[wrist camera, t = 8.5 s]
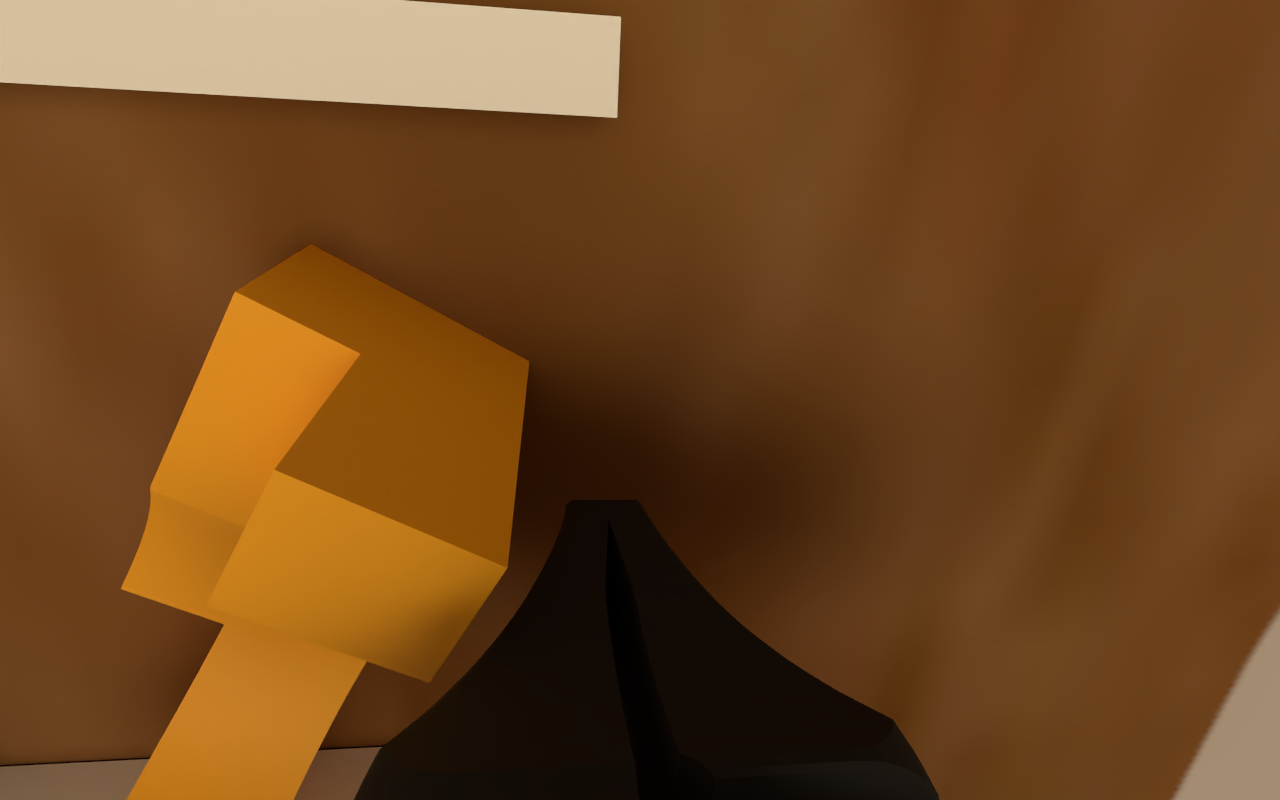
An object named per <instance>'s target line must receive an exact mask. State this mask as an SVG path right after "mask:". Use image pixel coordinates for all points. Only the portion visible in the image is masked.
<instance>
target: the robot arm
mask: <svg viewBox="0 0 1280 800" xmlns="http://www.w3.org/2000/svg"><path fill="white" fill-rule="evenodd" d="M354 800H939V797H938V793H937V792H936V790H935V788H934V786H933V784H932V782H931V780H930V779H929V777H928V775H927V773H926V771H925V769H924V767H923V765H922V764H921V762H920V760H919V759H918V757H917V755H916V754H915V752H914V750H913V749H912V747H911V746H910V744H909V743H908V741H907V740H906V739H905V737H904V736H903V734H902V733H901V731H900V730H899V728H898V727H897V725H896V723H895V722H894V720H893V719H891V718H889V717H887V716H885V715H883V714H881V713H879V712H877V711H875V710H873V709H871V708H869V707H867V706H866V705H864V704H862V703H860V702H858V701H856V700H854V699H852V698H850V697H848V696H846V695H844V694H842V693H840V692H839V691H837V690H835V689H833V688H832V687H830V686H828V685H827V684H825V683H823V682H822V681H820V680H819V679H817V678H815V677H814V676H812V675H810V674H809V673H807V672H805V671H804V670H802V669H801V668H799V667H798V666H796V665H795V664H793V663H792V662H790V661H789V660H787V659H786V658H784V657H783V656H782V655H780V654H779V653H778V652H776V651H775V650H774V649H772V648H771V647H770V646H768V645H767V644H766V643H764V642H763V641H762V640H760V639H759V638H758V637H756V636H755V635H754V634H753V633H751V632H750V631H749V630H748V629H746V628H745V627H744V626H743V625H742V624H740V623H739V622H738V621H737V620H736V619H735V618H734V617H733V616H732V615H730V614H729V613H728V612H727V611H726V610H725V609H724V608H723V607H722V606H721V605H720V604H719V603H718V602H717V601H716V600H715V599H714V598H713V597H712V596H711V595H710V594H709V593H708V592H707V591H706V589H705V588H704V587H703V586H702V585H701V584H700V583H699V582H698V581H697V580H696V578H695V577H694V576H693V575H692V574H691V573H690V571H689V570H688V569H687V568H686V567H685V565H684V564H683V563H682V562H681V560H680V559H679V558H678V557H677V555H676V554H675V553H674V552H673V550H672V549H671V548H670V546H669V545H668V544H667V542H666V541H665V540H664V538H663V537H662V535H661V534H660V533H659V531H658V530H657V528H656V527H655V525H654V524H653V522H652V521H651V519H650V518H649V516H648V514H647V513H646V511H645V510H644V508H643V506H642V505H641V504H640V503H639V502H638V501H637V500H572V501H571V502H570V503H569V504H567V505H566V512H565V517H564V521H563V524H562V527H561V530H560V532H559V535H558V537H557V540H556V542H555V545H554V547H553V549H552V551H551V553H550V555H549V557H548V559H547V562H546V564H545V566H544V568H543V569H542V571H541V573H540V575H539V576H538V578H537V580H536V582H535V583H534V585H533V587H532V588H531V590H530V592H529V594H528V595H527V597H526V598H525V600H524V602H523V603H522V605H521V606H520V608H519V609H518V611H517V612H516V613H515V615H514V616H513V618H512V619H511V620H510V622H509V623H508V624H507V626H506V627H505V629H504V630H503V631H502V633H501V634H500V635H499V636H498V637H497V639H496V640H495V641H494V642H493V643H492V645H491V646H490V647H489V648H488V650H487V651H486V652H485V653H484V654H483V656H482V657H481V658H480V659H479V660H478V661H477V662H476V663H475V665H474V666H473V667H472V668H471V669H470V670H469V671H468V672H467V673H466V674H465V675H464V676H463V677H462V678H461V679H460V680H459V681H458V682H457V683H456V684H455V685H454V686H453V687H452V688H451V689H450V690H449V691H448V692H447V693H446V694H445V695H444V696H443V697H442V698H441V699H439V700H438V701H437V702H436V703H435V704H434V705H433V706H432V707H431V708H430V709H429V710H428V711H426V712H425V713H424V714H423V715H422V716H420V717H419V718H418V719H417V720H416V721H414V722H413V723H412V724H411V725H409V726H408V727H407V728H406V729H404V730H403V731H402V732H401V733H400V734H398V735H397V736H396V737H395V738H393V739H392V740H391V741H390V742H388V743H387V744H386V745H384V746H383V747H382V748H380V749H379V751H378V753H377V755H376V757H375V758H374V760H373V762H372V764H371V766H370V768H369V770H368V772H367V773H366V775H365V777H364V779H363V781H362V783H361V785H360V788H359V790H358V792H357V794H356V796H355V798H354Z"/></svg>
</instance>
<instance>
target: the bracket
mask: <svg viewBox="0 0 1280 800" xmlns="http://www.w3.org/2000/svg"><path fill="white" fill-rule="evenodd" d="M620 30H621V17H617V16H604V15H590V14H577V13H564V12H551V11H537V10H524V9H511V8H498V7H485V6H471V5H458V4H445V3H432V2H418V1H405V0H0V82H4V83H21V84H38V85H56V86H73V87H90V88H108V89H125V90H143V91H160V92H177V93H195V94H212V95H229V96H247V97H264V98H282V99H299V100H316V101H334V102H351V103H368V104H386V105H403V106H421V107H438V108H455V109H473V110H490V111H507V112H525V113H542V114H560V115H577V116H594V117H612V118H617V107H618V82H619V56H620ZM380 748H382V747H371V748H352V749H332V750H318V751H317V753H316V755H315V757H314V759H313V761H312V763H311V765H310V767H309V769H308V771H307V773H306V775H305V777H304V779H303V781H302V783H301V785H300V787H299V789H298V791H297V794H296V796H295V798H294V800H354V798H355V796H356V794H357V792H358V790H359V788H360V785H361V783H362V781H363V779H364V777H365V775H366V773H367V772H368V770H369V768H370V766H371V764H372V762H373V760H374V758H375V757H376V755H377V753H378V751H379V749H380ZM148 761H149V759H140V760H120V761H101V762H82V763H63V764H43V765H24V766H5V767H0V800H126V799H127V798H128V796H129V794H130V792H131V791H132V789H133V787H134V785H135V784H136V782H137V780H138V778H139V777H140V775H141V773H142V771H143V770H144V768H145V766H146V764H147V763H148Z"/></svg>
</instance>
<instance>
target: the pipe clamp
mask: <svg viewBox="0 0 1280 800" xmlns="http://www.w3.org/2000/svg"><path fill="white" fill-rule="evenodd" d="M528 370H529V361H528V360H526V359H524V358H522V357H521V356H519V355H517V354H515V353H513V352H511V351H509V350H508V349H506V348H504V347H502V346H500V345H498V344H496V343H495V342H493V341H491V340H489V339H487V338H485V337H483V336H482V335H480V334H478V333H476V332H474V331H472V330H470V329H469V328H467V327H465V326H463V325H461V324H459V323H457V322H456V321H454V320H452V319H450V318H448V317H446V316H444V315H443V314H441V313H439V312H437V311H435V310H433V309H431V308H430V307H428V306H426V305H424V304H422V303H420V302H418V301H416V300H415V299H413V298H411V297H409V296H407V295H405V294H403V293H402V292H400V291H398V290H396V289H394V288H392V287H390V286H389V285H387V284H385V283H383V282H381V281H379V280H377V279H376V278H374V277H372V276H370V275H368V274H366V273H364V272H363V271H361V270H359V269H357V268H355V267H353V266H351V265H350V264H348V263H346V262H344V261H342V260H340V259H338V258H337V257H335V256H333V255H331V254H329V253H327V252H325V251H324V250H322V249H320V248H318V247H316V246H314V245H312V244H310V245H309V246H307V247H305V248H304V249H302V250H301V251H299V252H297V253H296V254H294V255H293V256H291V257H289V258H288V259H286V260H285V261H283V262H281V263H280V264H278V265H277V266H275V267H273V268H272V269H270V270H269V271H267V272H265V273H264V274H262V275H261V276H259V277H257V278H256V279H254V280H253V281H251V282H250V283H248V284H246V285H245V286H243V287H242V288H240V289H238V290H237V291H235V293H234V295H233V297H232V300H231V302H230V304H229V307H228V309H227V311H226V313H225V316H224V318H223V320H222V323H221V325H220V327H219V330H218V332H217V334H216V337H215V339H214V341H213V343H212V346H211V348H210V350H209V353H208V355H207V357H206V360H205V362H204V364H203V367H202V369H201V371H200V373H199V376H198V378H197V380H196V383H195V385H194V387H193V390H192V392H191V394H190V396H189V399H188V401H187V403H186V406H185V408H184V410H183V413H182V415H181V417H180V420H179V422H178V424H177V426H176V429H175V431H174V433H173V436H172V438H171V440H170V443H169V445H168V447H167V450H166V452H165V454H164V456H163V459H162V461H161V463H160V466H159V468H158V470H157V473H156V475H155V477H154V479H153V482H152V484H151V486H150V492H151V504H150V511H149V516H148V520H147V524H146V528H145V531H144V534H143V537H142V540H141V543H140V546H139V548H138V551H137V553H136V556H135V558H134V561H133V563H132V565H131V568H130V570H129V572H128V574H127V577H126V579H125V581H124V583H123V585H122V587H121V589H122V590H125V591H128V592H131V593H134V594H137V595H140V596H143V597H146V598H149V599H152V600H154V601H157V602H160V603H163V604H166V605H169V606H172V607H175V608H178V609H181V610H184V611H187V612H190V613H192V614H195V615H198V616H201V617H204V618H207V619H210V620H213V621H216V622H219V623H222V624H224V626H223V628H222V629H221V631H220V633H219V635H218V637H217V639H216V641H215V642H214V644H213V646H212V648H211V650H210V652H209V654H208V655H207V657H206V659H205V661H204V663H203V665H202V666H201V668H200V670H199V672H198V674H197V676H196V677H195V679H194V681H193V683H192V685H191V686H190V688H189V690H188V692H187V694H186V695H185V697H184V699H183V701H182V703H181V704H180V706H179V708H178V710H177V711H176V713H175V715H174V717H173V719H172V720H171V722H170V724H169V726H168V727H167V729H166V731H165V733H164V735H163V736H162V738H161V740H160V742H159V743H158V745H157V747H156V749H155V750H154V752H153V754H152V756H151V757H150V759H149V761H148V763H147V764H146V766H145V768H144V770H143V771H142V773H141V775H140V777H139V778H138V780H137V782H136V784H135V785H134V787H133V789H132V791H131V792H130V794H129V796H128V798H127V799H126V800H294V798H295V796H296V794H297V791H298V789H299V787H300V785H301V783H302V781H303V779H304V777H305V775H306V773H307V771H308V769H309V767H310V765H311V763H312V761H313V759H314V757H315V755H316V753H317V751H318V749H319V747H320V745H321V743H322V741H323V739H324V737H325V735H326V734H327V732H328V730H329V728H330V726H331V724H332V722H333V720H334V718H335V716H336V715H337V713H338V711H339V709H340V707H341V705H342V704H343V702H344V700H345V698H346V696H347V695H348V693H349V691H350V689H351V688H352V686H353V684H354V682H355V681H356V679H357V677H358V675H359V674H360V672H361V670H362V669H363V667H364V665H365V664H366V662H370V663H373V664H376V665H379V666H381V667H384V668H387V669H390V670H393V671H396V672H399V673H402V674H404V675H407V676H410V677H413V678H416V679H419V680H422V681H425V682H427V683H430V682H431V680H432V679H433V677H434V676H435V674H436V673H437V671H438V670H439V668H440V667H441V665H442V664H443V662H444V661H445V659H446V658H447V656H448V655H449V654H450V652H451V651H452V649H453V648H454V646H455V645H456V643H457V642H458V640H459V639H460V637H461V636H462V634H463V633H464V631H465V630H466V628H467V627H468V626H469V624H470V623H471V621H472V620H473V618H474V617H475V615H476V614H477V612H478V611H479V609H480V608H481V606H482V605H483V603H484V602H485V600H486V599H487V598H488V596H489V595H490V593H491V592H492V590H493V589H494V587H495V586H496V584H497V583H498V581H499V580H500V578H501V577H502V575H503V574H504V572H505V571H506V570H507V568H508V559H509V549H510V540H511V530H512V521H513V511H514V502H515V493H516V483H517V474H518V464H519V455H520V445H521V436H522V427H523V417H524V408H525V398H526V389H527V379H528Z"/></svg>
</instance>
